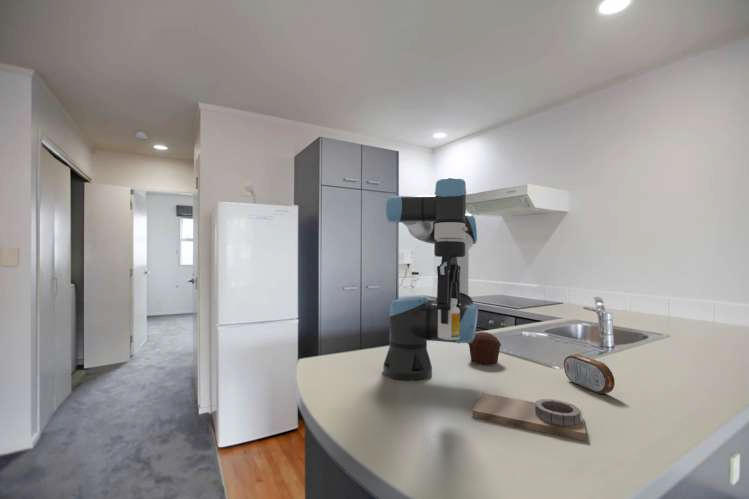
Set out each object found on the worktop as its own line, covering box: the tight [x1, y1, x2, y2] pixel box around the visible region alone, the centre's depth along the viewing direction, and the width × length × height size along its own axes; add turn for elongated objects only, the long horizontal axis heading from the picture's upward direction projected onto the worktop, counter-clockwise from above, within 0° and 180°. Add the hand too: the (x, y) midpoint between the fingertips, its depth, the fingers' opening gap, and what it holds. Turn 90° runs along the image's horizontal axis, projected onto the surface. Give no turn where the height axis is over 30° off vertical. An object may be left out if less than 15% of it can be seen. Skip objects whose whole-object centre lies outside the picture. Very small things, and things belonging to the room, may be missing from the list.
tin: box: [563, 353, 616, 395], centre depth 99 cm, size 15×3×8 cm, turn 15°
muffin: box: [467, 331, 502, 366], centre depth 123 cm, size 12×11×10 cm
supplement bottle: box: [438, 298, 460, 340], centre depth 87 cm, size 5×5×10 cm
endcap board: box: [471, 392, 587, 442], centre depth 79 cm, size 22×12×4 cm, turn 64°
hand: (448, 334), depth 87 cm, fingers closed on supplement bottle, 5 cm apart
